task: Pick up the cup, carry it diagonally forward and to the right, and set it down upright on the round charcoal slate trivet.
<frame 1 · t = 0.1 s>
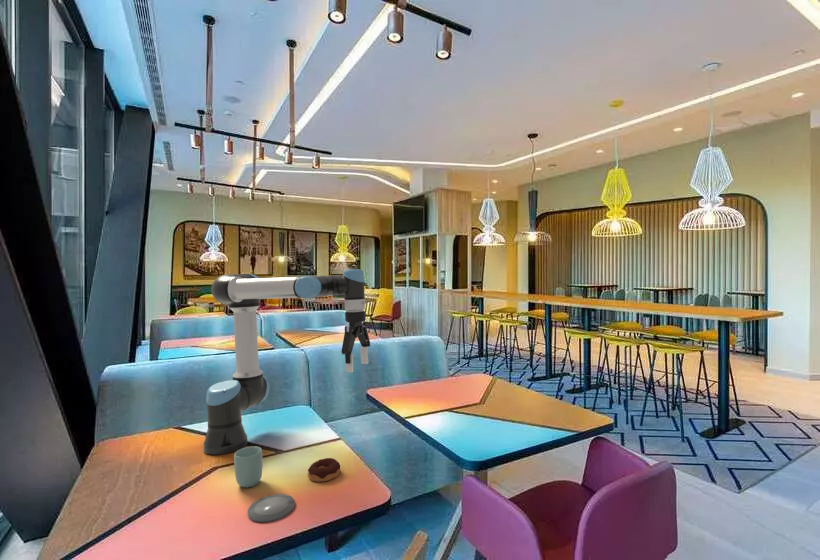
hand: (357, 367, 151), 28 cm above the table, fingers open, 13 cm apart
cup: (249, 484, 124), on the table
donut: (324, 476, 127), on the table
trivet: (271, 508, 110), on the table
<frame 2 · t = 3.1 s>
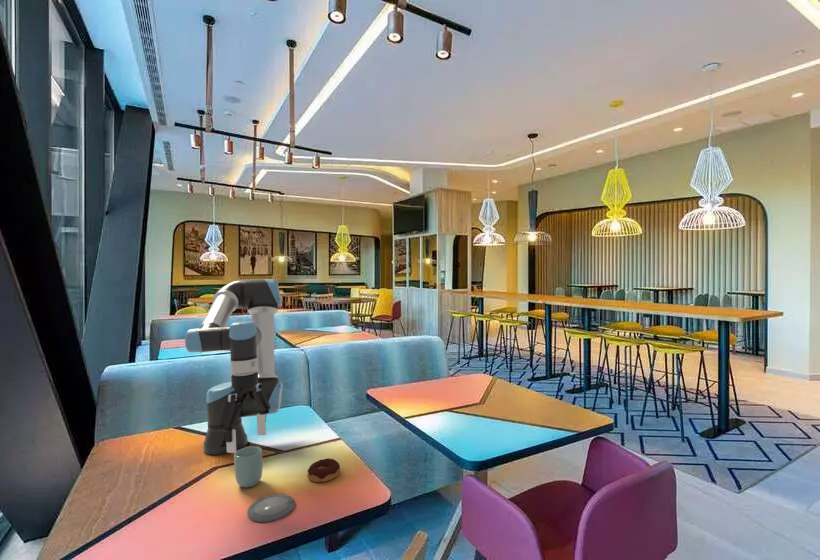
hand: (247, 443, 123), 13 cm above the table, fingers open, 13 cm apart
nothing on the table moved.
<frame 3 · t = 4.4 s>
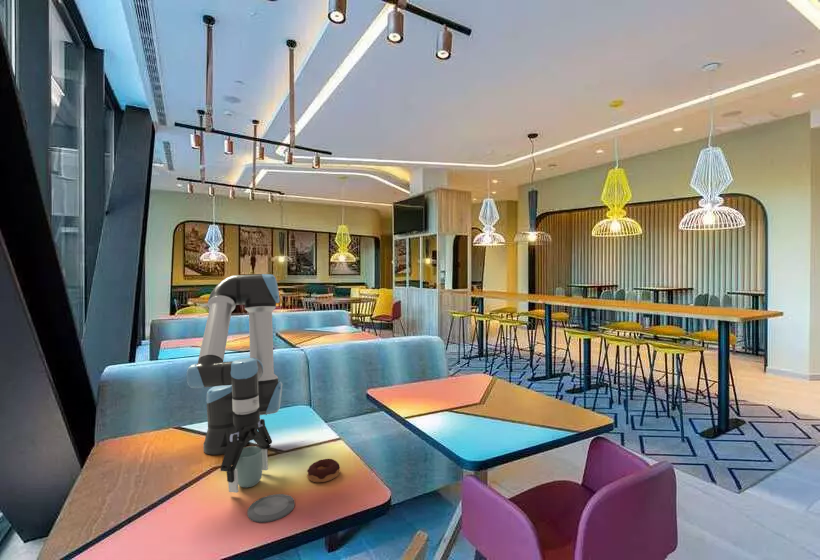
hand: (249, 480, 123), 1 cm above the table, fingers open, 13 cm apart
nothing on the table moved.
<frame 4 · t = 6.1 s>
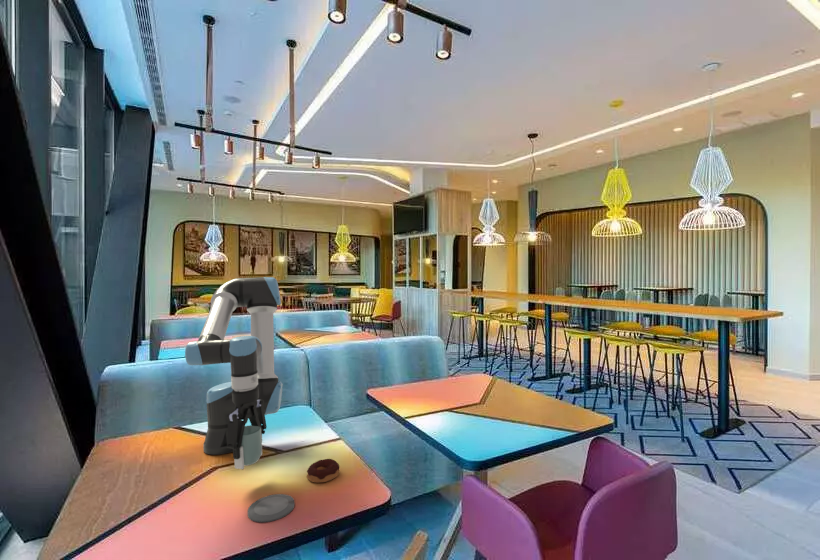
hand: (249, 461, 124), 7 cm above the table, fingers closed on cup, 8 cm apart
cup: (249, 462, 124), point 6 cm above the table, touching gripper
everything else where it was.
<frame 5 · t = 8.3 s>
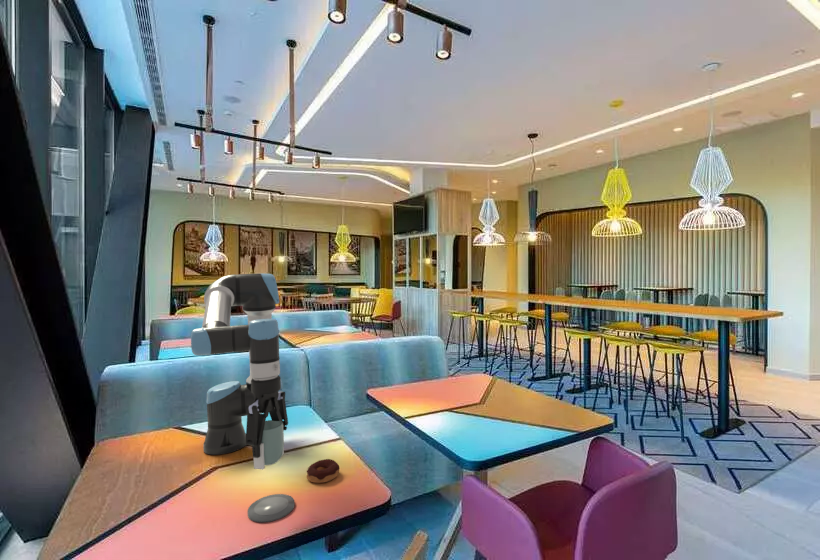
hand: (269, 461, 109), 13 cm above the table, fingers closed on cup, 8 cm apart
cup: (269, 462, 109), point 13 cm above the table, touching gripper
everything else where it was.
when the fingers open (2 cm above the table, at t = 10.9 s): cup stays where it is, resting on trivet.
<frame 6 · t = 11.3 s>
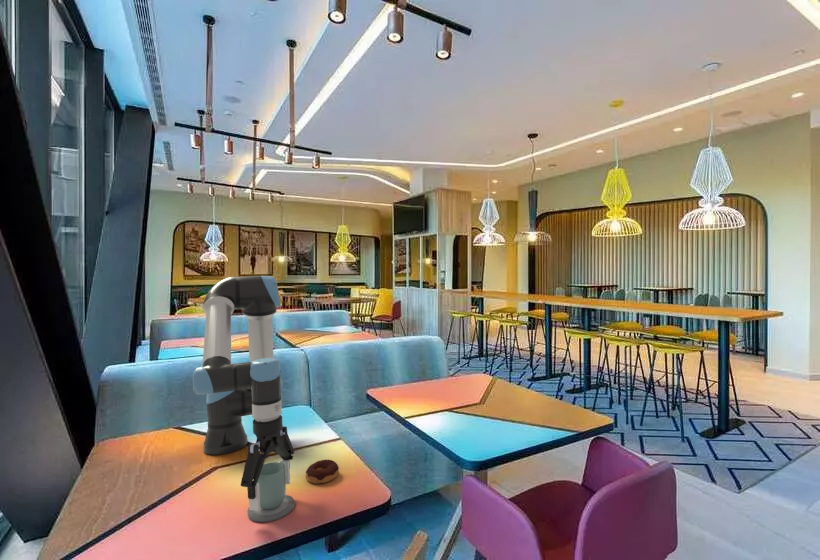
hand: (270, 495, 110), 4 cm above the table, fingers open, 13 cm apart
cup: (271, 505, 110), point 1 cm above the table, touching trivet
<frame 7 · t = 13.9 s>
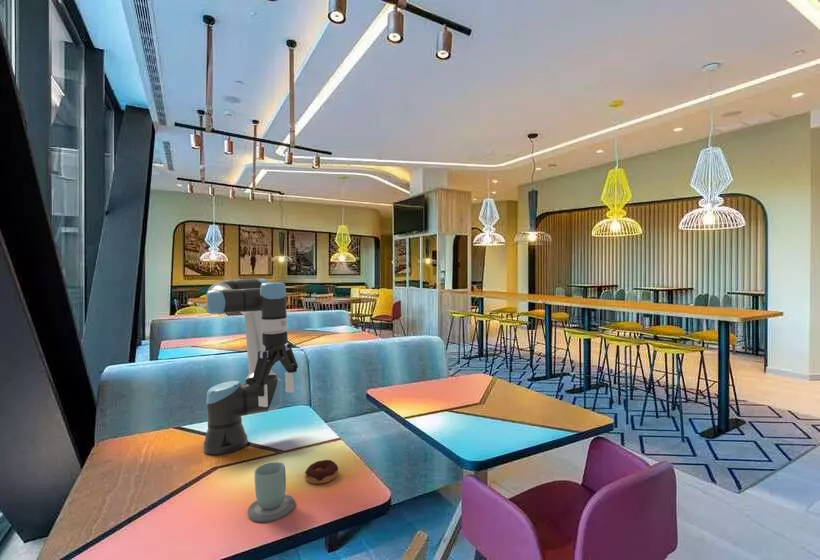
hand: (277, 398, 128), 24 cm above the table, fingers open, 13 cm apart
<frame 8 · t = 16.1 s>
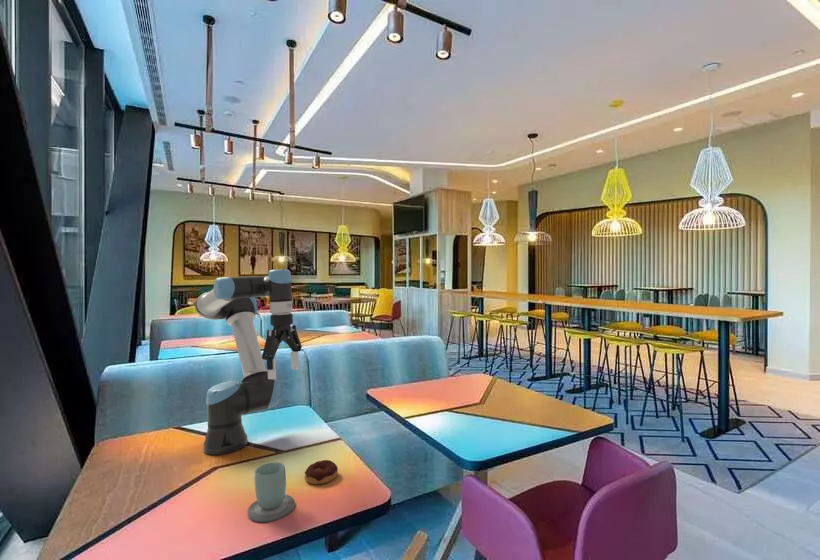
hand: (284, 374, 142), 29 cm above the table, fingers open, 13 cm apart
at the end: cup inside the target area on the trivet (0.2 cm from its centre), point 0.7 cm above the trivet's base; cup tilted 0°; the gripper is holding nothing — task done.
